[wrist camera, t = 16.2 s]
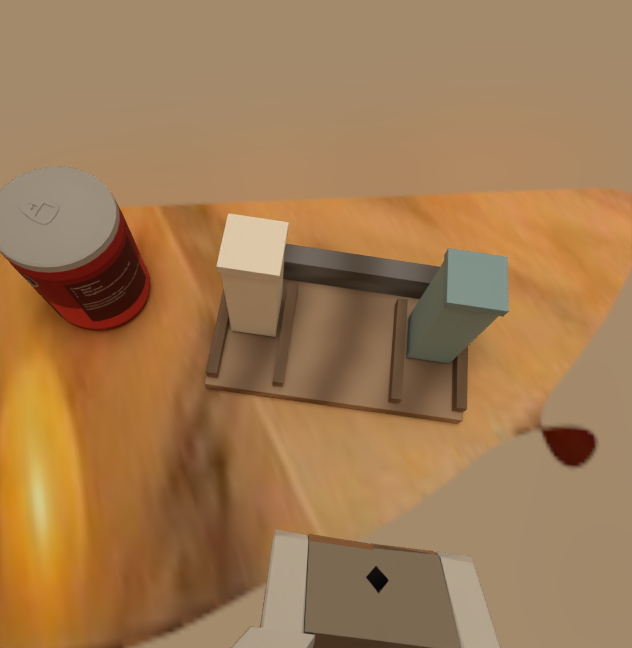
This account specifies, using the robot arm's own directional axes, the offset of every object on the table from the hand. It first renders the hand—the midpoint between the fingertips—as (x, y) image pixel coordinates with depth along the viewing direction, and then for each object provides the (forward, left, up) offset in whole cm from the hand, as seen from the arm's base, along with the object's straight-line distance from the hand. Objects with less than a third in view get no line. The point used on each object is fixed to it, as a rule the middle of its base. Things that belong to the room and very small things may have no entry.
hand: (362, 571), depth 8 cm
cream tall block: (-5, +17, -30) cm, 34 cm away
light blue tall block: (+9, +16, -30) cm, 35 cm away
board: (+2, +16, -31) cm, 35 cm away
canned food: (-18, +17, -32) cm, 40 cm away
